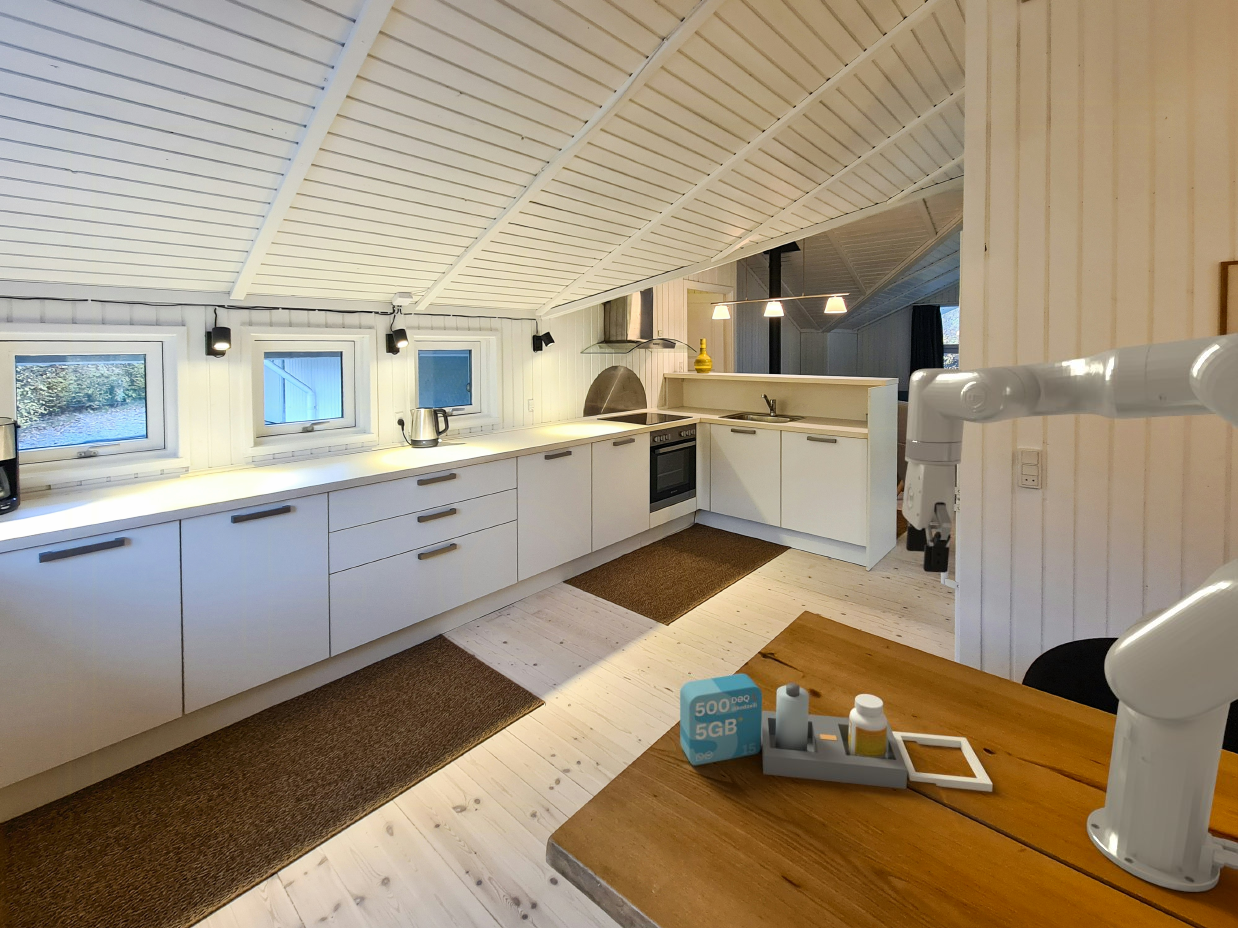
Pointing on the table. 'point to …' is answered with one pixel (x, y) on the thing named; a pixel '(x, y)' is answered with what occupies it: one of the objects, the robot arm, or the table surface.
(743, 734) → the data package
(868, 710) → the supplement bottle
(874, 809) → the table surface
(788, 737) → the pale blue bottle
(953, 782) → the tray frame
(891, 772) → the grey compartment tray
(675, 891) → the table surface
